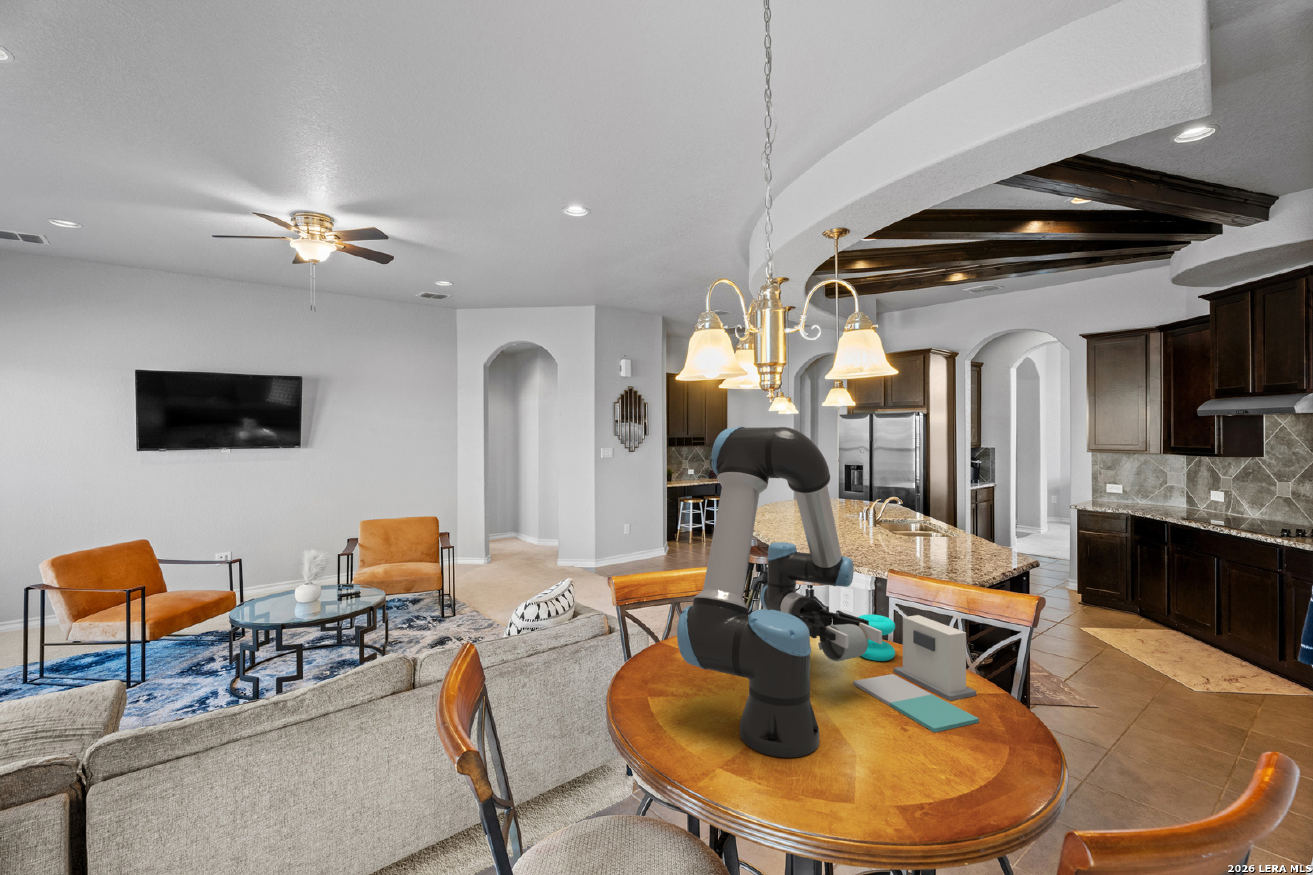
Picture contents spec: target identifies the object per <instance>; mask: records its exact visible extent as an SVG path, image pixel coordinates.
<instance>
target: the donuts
mask: <svg viewBox="0 0 1313 875" xmlns="http://www.w3.org/2000/svg"><path fill="white" fill-rule="evenodd" d="M857 617H858V618H861V619H865V620H868V621H869V626H871V627H873V628H876V629H878V630H880V631H882V636H888V635H890V634H892V633H893V632H894V631H895V629H896V623H895V621H893V620H892V618H889V617H887V616H884V615H881V614H861V615H860V616H857ZM867 641H868V646H867V650H866V652H865V653H864V654H863V655H861V656H860V657H861V658H863V659H866V660H870V661H875V662H886V661H887V662H888V661H890V660H893V659H894V658H895V656H896V650H895V647H894V646H892V645H891V643H888V642H887V641H885V640H882V644H878V643H876V642H874V641H872V640H869V639H867Z"/></svg>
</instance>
